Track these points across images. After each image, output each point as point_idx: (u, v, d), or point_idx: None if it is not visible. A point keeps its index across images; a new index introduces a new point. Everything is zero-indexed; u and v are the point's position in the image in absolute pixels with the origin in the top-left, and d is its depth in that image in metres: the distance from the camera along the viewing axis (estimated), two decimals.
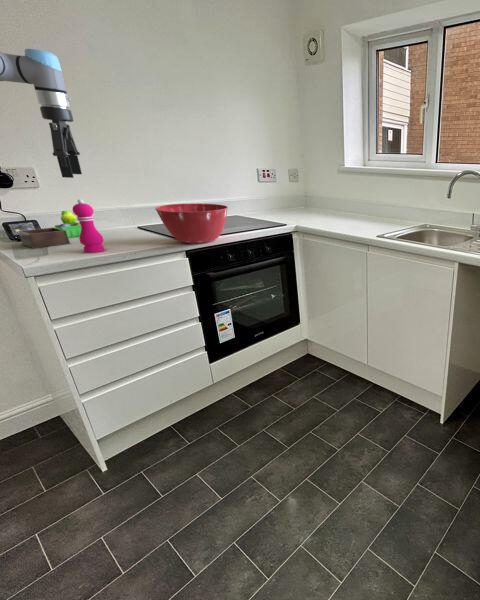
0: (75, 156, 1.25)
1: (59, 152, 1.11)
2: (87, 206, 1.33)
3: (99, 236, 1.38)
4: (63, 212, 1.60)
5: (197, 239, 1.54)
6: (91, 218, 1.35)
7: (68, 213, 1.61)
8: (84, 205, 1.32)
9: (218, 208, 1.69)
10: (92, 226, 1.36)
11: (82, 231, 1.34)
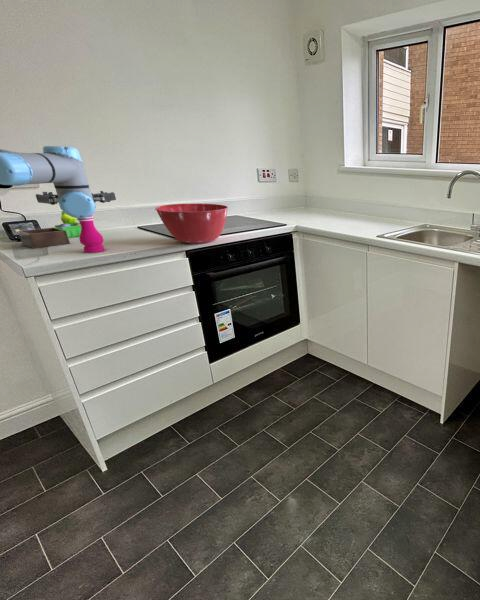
0: None
1: None
2: None
3: (99, 236, 1.38)
4: (63, 212, 1.60)
5: (197, 239, 1.54)
6: (91, 218, 1.35)
7: None
8: None
9: (218, 208, 1.69)
10: (92, 226, 1.36)
11: (82, 231, 1.34)
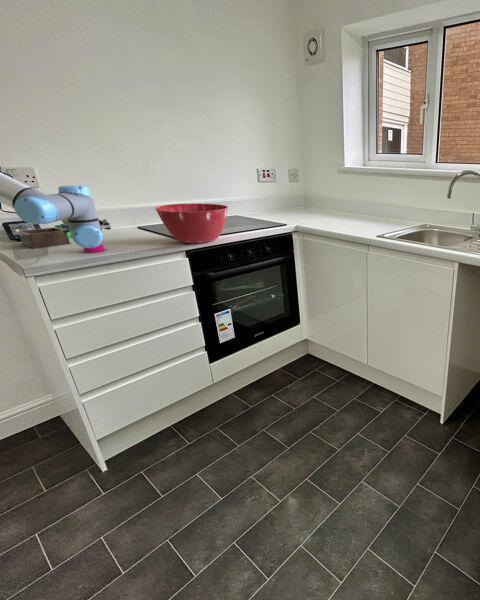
0: None
1: None
2: None
3: None
4: None
5: (197, 239, 1.54)
6: None
7: None
8: None
9: (218, 208, 1.69)
10: None
11: None
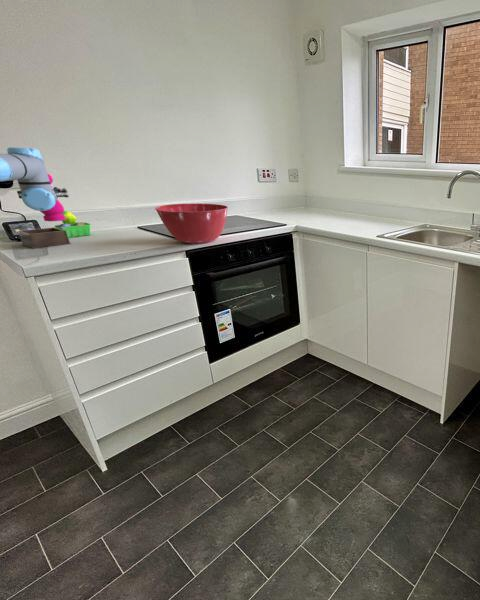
0: None
1: None
2: None
3: (59, 205, 1.39)
4: (63, 212, 1.60)
5: (197, 239, 1.54)
6: None
7: (68, 213, 1.61)
8: None
9: (218, 208, 1.69)
10: None
11: None
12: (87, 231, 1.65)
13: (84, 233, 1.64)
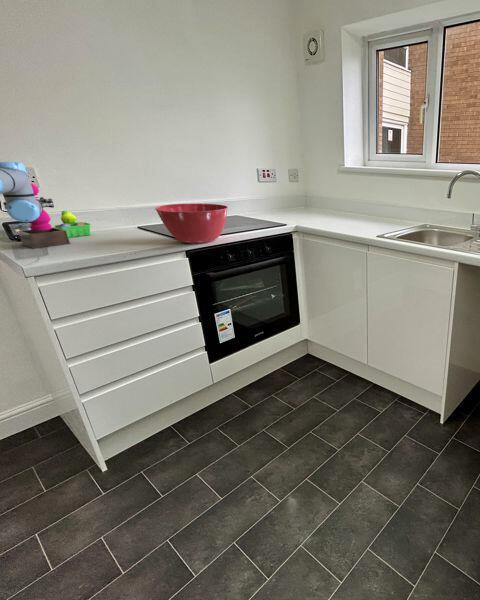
0: None
1: None
2: (31, 185, 1.38)
3: (45, 215, 1.43)
4: (63, 212, 1.60)
5: (197, 239, 1.54)
6: (36, 197, 1.40)
7: (68, 213, 1.61)
8: None
9: (218, 208, 1.69)
10: None
11: None
12: (87, 231, 1.65)
13: (84, 233, 1.64)
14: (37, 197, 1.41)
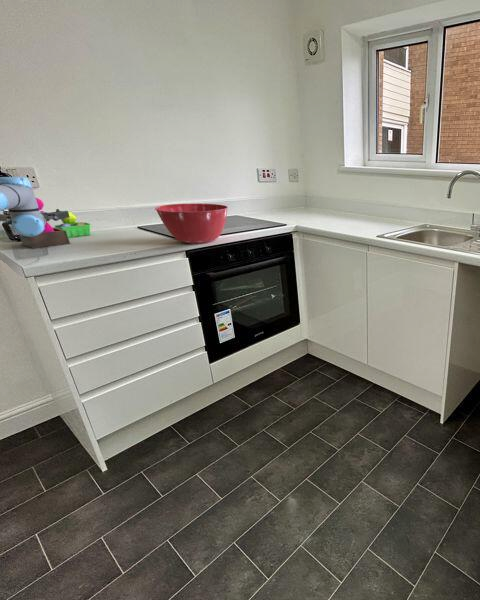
0: None
1: None
2: (36, 200, 1.40)
3: (50, 228, 1.45)
4: None
5: (197, 239, 1.54)
6: (41, 211, 1.42)
7: None
8: None
9: (218, 208, 1.69)
10: None
11: None
12: (87, 231, 1.65)
13: (84, 233, 1.64)
14: (42, 211, 1.43)
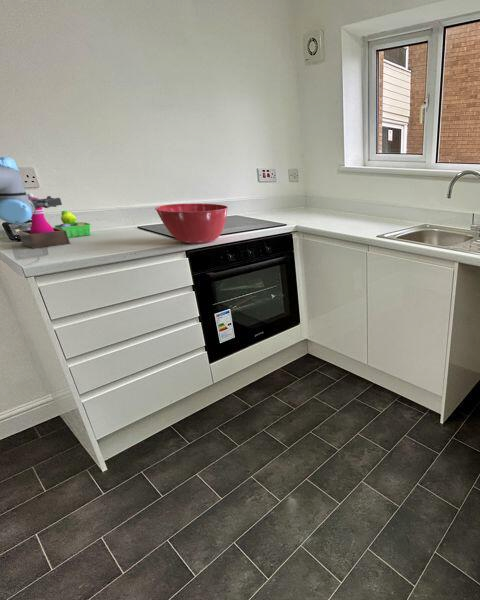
0: None
1: None
2: None
3: (50, 228, 1.45)
4: (63, 212, 1.60)
5: (197, 239, 1.54)
6: (41, 211, 1.42)
7: (68, 213, 1.61)
8: None
9: (218, 208, 1.69)
10: (42, 219, 1.43)
11: (32, 223, 1.42)
12: (87, 231, 1.65)
13: (84, 233, 1.64)
14: (42, 211, 1.43)
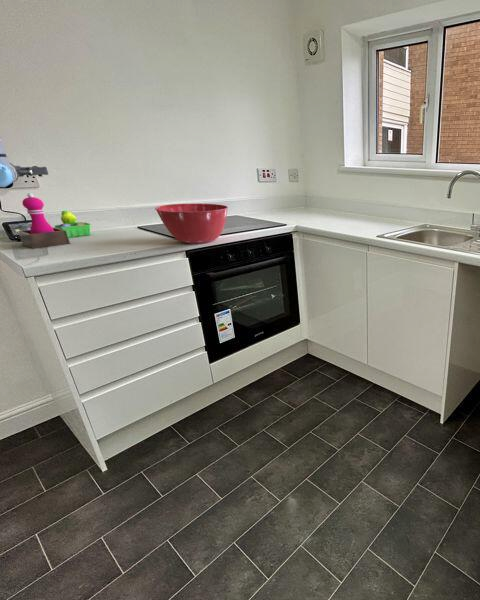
0: None
1: None
2: (36, 200, 1.40)
3: (50, 228, 1.45)
4: (63, 212, 1.60)
5: (197, 239, 1.54)
6: (41, 211, 1.42)
7: (68, 213, 1.61)
8: (33, 199, 1.40)
9: (218, 208, 1.69)
10: (42, 219, 1.43)
11: (32, 223, 1.42)
12: (87, 231, 1.65)
13: (84, 233, 1.64)
14: (42, 211, 1.43)
